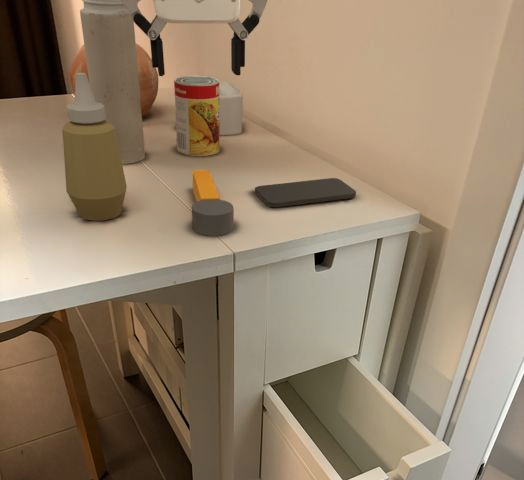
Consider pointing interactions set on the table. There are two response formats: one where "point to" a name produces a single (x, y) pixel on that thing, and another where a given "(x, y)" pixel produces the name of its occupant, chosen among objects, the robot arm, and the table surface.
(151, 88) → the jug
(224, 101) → the pale grey slab
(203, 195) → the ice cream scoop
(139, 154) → the thermos bottle
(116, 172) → the squeeze bottle
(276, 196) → the phone
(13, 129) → the table surface
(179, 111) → the canned food
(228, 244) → the table surface
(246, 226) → the table surface
